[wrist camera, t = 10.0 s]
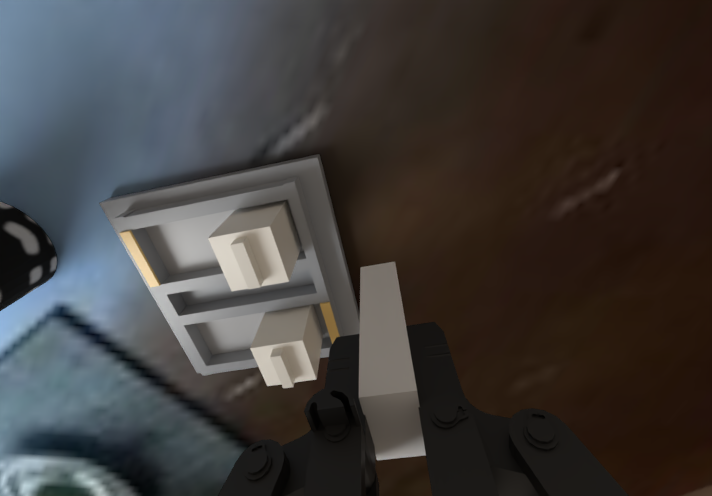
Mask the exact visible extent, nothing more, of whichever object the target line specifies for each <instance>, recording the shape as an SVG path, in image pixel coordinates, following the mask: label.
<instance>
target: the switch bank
mask: <svg viewBox="0 0 712 496" xmlns="http://www.w3.org/2000/svg"><path fill="white" fill-rule="evenodd" d="M284 200H287V203H288V206H289V209H290V213H291V216H292V219H293V222H294V226H295V229H296V232H297V235H298V238H299V242H300V245H301V250H300V253H299V256H298V258H297V261H296V264H295V267H294V269H293V272H292V275H291V278H290V281H289V282H284V283H278V284H272V285H267V286H261V287H260V288H254V289H243V290H237V291H231V289H230V287H229V284H228V282H227V280H226V278H225V276H224V273H223V271H222V269H221V267H220V264H219V262H218V260H217V258H216V255H215V253H214V251H213V249H212V246H211V244H210V242H209V240H208V237H209V236H210V235H211V234H212V233H213V232H214V231H215V230H216V229H217V228H218V227H219V226H220V225H221V224H222V223H223V222H224V221H225V220H226V219H227V218H228V217H229V216H230V215H231V214H232V213H233V212H234V211H235V210H238V209H243V208H248V207H253V206H258V205H263V204H268V203H273V202H278V201H284ZM99 204H100V206H101V207H102V209H103V211H104V213H105V214H106V216H107V218H108V219H109V221H110V223H111V225H112V226H113V228H114V230H115V232H116V233H117V235H118V237H119V238H120V240H121V242H122V244H123V245H124V247H125V249H126V251H127V252H128V254H129V256H130V258H131V259H132V261H133V263H134V264H135V266H136V268H137V270H138V271H139V273H140V275H141V277H142V278H143V280H144V282H145V283H146V285H147V287H148V289H149V290H150V292H151V294H152V296H153V297H154V299H155V301H156V303H157V304H158V306H159V308H160V309H161V311H162V313H163V315H164V316H165V318H166V320H167V322H168V323H169V325H170V327H171V328H172V330H173V332H174V334H175V335H176V337H177V339H178V341H179V342H180V344H181V346H182V348H183V349H184V351H185V353H186V354H187V356H188V358H189V360H190V361H191V363H192V365H193V367H194V368H195V370H196V372H197V373H202V375H203V376H205V375H211V374H213V373H220V372H227V371H234V370H241V369H247V368H254V367H258V365H257V362H256V360H255V358H254V356H253V354H252V351H251V349H250V347H251V345H252V343H253V340H254V338H255V335H256V333H257V331H258V328H259V326H260V323H261V321H262V318H263V316H264V314H265V312H269V311H275V310H281V309H288V308H294V307H300V306H306V305H312V304H313V305H314V308H315V312H316V315H317V318H318V321H319V324H320V327H321V330H322V333H323V339H322V346H321V353H320V358H323V357H329V351H330V347H331V346H332V344H333V342H334V341H335V339H336V337H341V336H348V335H355V334H360V314H359V310H358V306H357V302H356V298H355V294H354V290H353V286H352V282H351V278H350V274H349V270H348V266H347V262H346V258H345V254H344V250H343V246H342V242H341V238H340V234H339V230H338V226H337V222H336V218H335V214H334V210H333V206H332V202H331V198H330V194H329V190H328V186H327V182H326V178H325V174H324V170H323V166H322V162H321V158H320V154H317V155H312V156H308V157H303V158H298V159H293V160H289V161H284V162H279V163H274V164H270V165H265V166H260V167H255V168H251V169H246V170H241V171H236V172H232V173H227V174H222V175H217V176H213V177H208V178H203V179H198V180H194V181H189V182H184V183H179V184H175V185H170V186H165V187H160V188H155V189H151V190H146V191H141V192H136V193H132V194H127V195H122V196H117V197H113V198H109V199H107V200H105V201H103V202H100V203H99Z"/></svg>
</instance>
